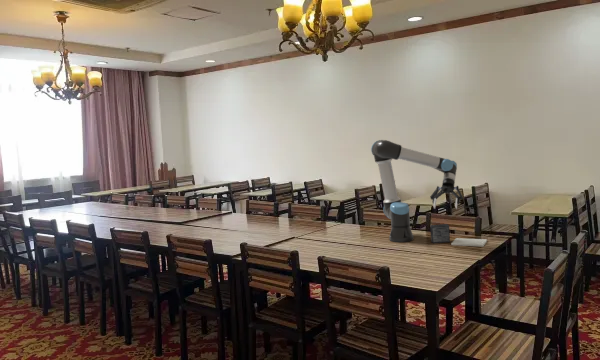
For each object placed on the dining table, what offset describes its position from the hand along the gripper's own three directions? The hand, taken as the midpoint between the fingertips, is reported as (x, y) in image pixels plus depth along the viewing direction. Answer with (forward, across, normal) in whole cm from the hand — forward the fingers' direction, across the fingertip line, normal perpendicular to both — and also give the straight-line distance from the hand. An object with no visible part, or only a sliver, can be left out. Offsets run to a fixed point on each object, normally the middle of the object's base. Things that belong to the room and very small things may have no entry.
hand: (444, 207), depth 301 cm
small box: (+23, +1, -4) cm, 23 cm away
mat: (+23, -16, -4) cm, 28 cm away
